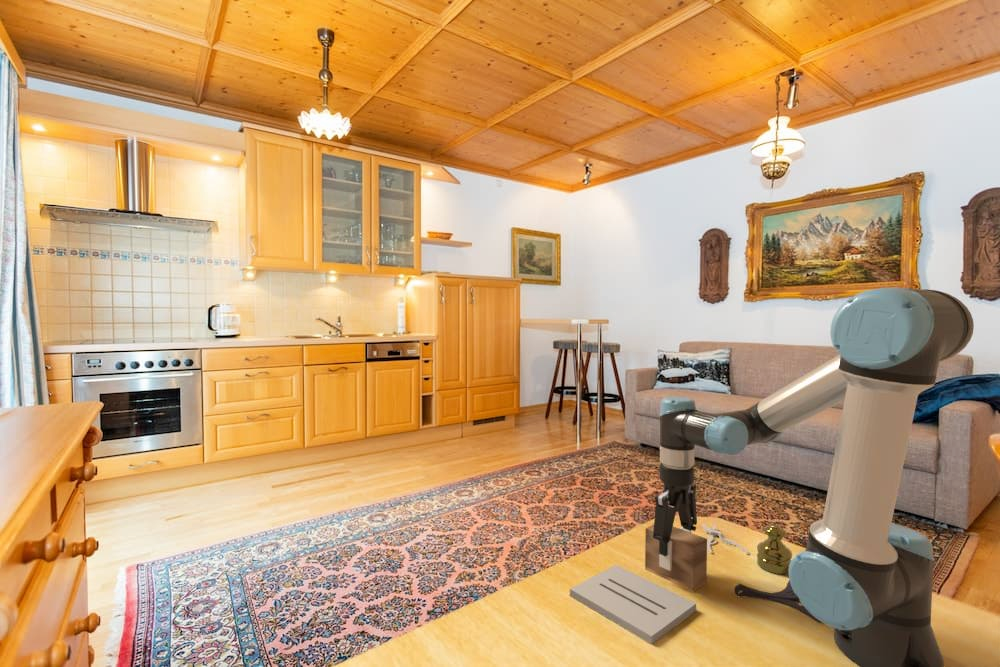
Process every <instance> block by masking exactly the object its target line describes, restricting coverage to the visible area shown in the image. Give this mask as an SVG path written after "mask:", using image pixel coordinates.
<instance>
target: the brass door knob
mask: <svg viewBox="0 0 1000 667" xmlns="http://www.w3.org/2000/svg"><path fill="white" fill-rule="evenodd" d="M762 531H763V533H765V534H766V535H767V537H768V538H767V539H764V541H760V542H759V543H758V544H757V546H756V550H757V554H756V557H757V559H756V564H757V565H758V567H760V568H761V569H762V570H764V571H766V572H768V571H769V573H771V572H772V573H771V574H775V573H776V574H775V575H787V574H788V575H789V571H788V570H789V565H790V562H791V560H792V559H793V551H792V550H791V549H790V548H789V547H787V546H786V544H785V543H783V541H782V539H783V538H785V537H786V536H787V535H788V531H786V529H783V527H780V526H778V525H777V524H771V525H769V524H768V525H765V526H764V527H763V528H762Z"/></svg>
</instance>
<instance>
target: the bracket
mask: <svg viewBox="0 0 1000 667" xmlns="http://www.w3.org/2000/svg"><path fill="white" fill-rule="evenodd" d="M733 592H734V594H735V596H736V597H742V598H751V599H763V600H770V601H774V602H777V603H780V604H783V605H786V606H789V607H790V608H793V609H795V610H798V611H799V612H800V613H803V614H804V615H806V616H808V617H809V618H811V619H812V620H813V621H815V622H816V621H817V623H820V621H819V620H818V619H817V618H815V617H814V616H813V615H812V614H811V613H810V612H809V611H808V610H807V609H806V608H805V607H804V606H803V605H802V604H801V602H800V600H799V597H798V596H797V595H796V594H795V593H794V591H793V589H792V586H791V584H790V580H789V579H788V581H787V583H786V587H785V588H784V589H782V590H780V591H776V592H768V591H763V590H759V589H755V588H753V587H750V586H746V585H744V584H742V583H739V584H737V585H735V587H734V589H733ZM799 603H800V604H799Z"/></svg>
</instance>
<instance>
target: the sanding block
mask: <svg viewBox="0 0 1000 667" xmlns="http://www.w3.org/2000/svg"><path fill="white" fill-rule="evenodd" d="M679 528H680V527H679ZM679 528H678V527H676V526H673V528H672V532H671V537H670V541H672V570H671V571H669V570H667V569H664V568H662V567H660V566H659V540H657V539H654V538H653V530H654V524H652V525H649V526H648V527H646V528H645V547H644V548H645V550H644V551H645V552H644V553H645V555H644V556H645V557H644V560H645V562H644V569H645V571H647V572H649V573H652V574H654V575H656V576H659V577H660V578H662V579H665V580H667V581H669V582H671V583H673V584H676V585H678V586H680V587H682V588H684V589H686V590H689V591H691V592H695V591H696V590H698V589H699V588H701V586H703V585H705V584H706V583H707V579H708V578H707V576H708V575H707V572H708V571H707V570H708V569H707V568H708V567H707V565H708V550H707V537H702V536H700V535H698V534H695V533H692V532H691V533H690V532H687V531H684V530H681V529H679Z"/></svg>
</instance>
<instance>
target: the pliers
mask: <svg viewBox="0 0 1000 667" xmlns="http://www.w3.org/2000/svg"><path fill="white" fill-rule="evenodd" d="M702 528H703V529H702ZM701 529H702V531H704V532H705V534H708V537H706V539H707V552H708V553H709V554H711V555H713V554H714V552H713V550H712V548H711V547H712V546H714V545H716V544H718V540H715V541H714V539H715V538H719V539H720V540H721V542H720V543H723V544H725V543H726V544H725V545H728V544H730V545H729V546H731V545H734V546H733V547H736V546H737V548H738V547H739V548H740V549H739V548H738V549H739V550H741V549H742V550H743V551H744V552H745V553H744V552H743V551H742V550H741V551H742V552H743V553H744V554H745V555H747V556H750V553H749V551H748V550H747V548H746V547H744V546H743V545H742V544H740V543H739V542H737V541H735V540H733V539H730V538H727V537H726V536H725V534H723V532H721V531H719V529H718V527H716V525H715V524H711V527H709V526H707V525H706V524H705V523H703V524H702V525H701ZM717 536H719V537H717ZM713 541H714V542H713ZM725 541H726V542H725ZM728 542H729V543H728ZM731 543H732V544H731Z"/></svg>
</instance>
